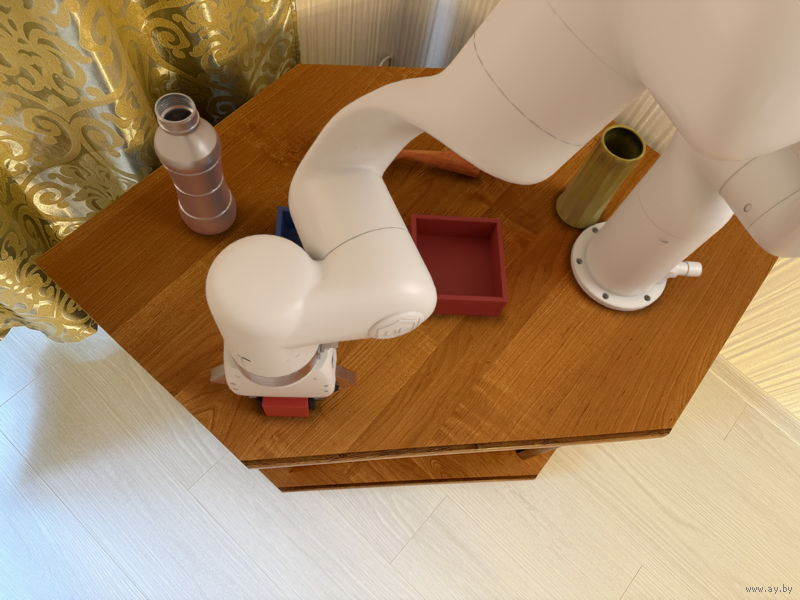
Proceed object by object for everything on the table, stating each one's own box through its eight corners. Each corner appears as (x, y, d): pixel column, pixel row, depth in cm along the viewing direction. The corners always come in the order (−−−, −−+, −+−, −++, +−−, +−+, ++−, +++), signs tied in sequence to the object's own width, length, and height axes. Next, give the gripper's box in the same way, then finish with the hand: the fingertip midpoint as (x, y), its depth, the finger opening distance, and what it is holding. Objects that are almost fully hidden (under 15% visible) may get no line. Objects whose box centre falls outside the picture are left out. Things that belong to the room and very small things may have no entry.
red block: (311, 376, 67) (309, 364, 63) (308, 417, 65) (307, 407, 61) (269, 375, 67) (265, 363, 63) (266, 416, 65) (262, 406, 61)
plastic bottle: (199, 189, 75) (158, 71, 57) (248, 207, 75) (223, 95, 57) (174, 230, 73) (123, 120, 54) (225, 249, 72) (191, 145, 54)
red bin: (492, 236, 77) (501, 218, 73) (498, 316, 73) (508, 301, 69) (406, 232, 76) (411, 213, 72) (407, 312, 72) (412, 297, 68)
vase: (596, 234, 79) (647, 170, 66) (552, 222, 79) (594, 155, 66) (601, 198, 82) (652, 129, 69) (558, 186, 82) (601, 115, 69)
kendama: (484, 176, 76) (328, 152, 73) (470, 194, 82) (325, 173, 79) (486, 134, 78) (333, 109, 74) (472, 154, 83) (329, 132, 80)
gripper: (378, 303, 52) (365, 365, 68) (177, 294, 50) (214, 361, 67) (377, 387, 49) (364, 431, 65) (163, 381, 47) (206, 428, 64)
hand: (288, 395), depth 66 cm, fingers closed on red block, 4 cm apart
